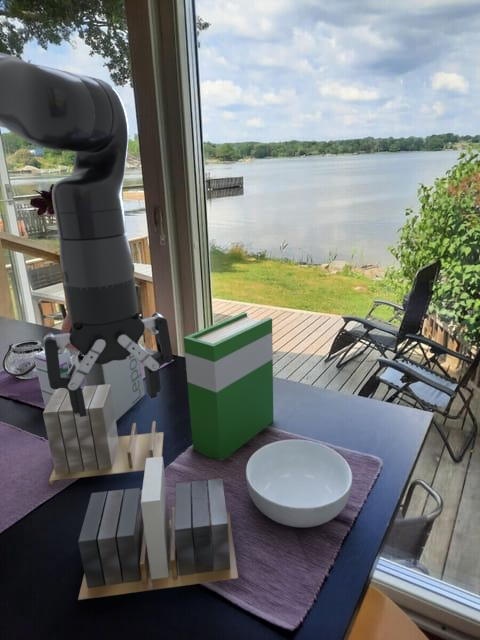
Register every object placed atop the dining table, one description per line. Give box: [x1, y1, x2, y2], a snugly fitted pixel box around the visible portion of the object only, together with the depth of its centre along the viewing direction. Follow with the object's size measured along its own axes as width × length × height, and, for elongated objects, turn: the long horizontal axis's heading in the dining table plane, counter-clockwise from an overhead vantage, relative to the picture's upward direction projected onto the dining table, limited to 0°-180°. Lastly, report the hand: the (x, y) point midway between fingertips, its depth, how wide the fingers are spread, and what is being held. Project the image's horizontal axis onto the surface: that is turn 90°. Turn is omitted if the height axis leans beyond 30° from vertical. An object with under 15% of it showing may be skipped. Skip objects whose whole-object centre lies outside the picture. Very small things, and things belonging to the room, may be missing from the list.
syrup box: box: [33, 348, 73, 409], centre depth 104 cm, size 6×6×14 cm
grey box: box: [83, 340, 146, 422], centre depth 100 cm, size 14×6×30 cm, turn 161°
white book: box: [141, 456, 171, 579], centre depth 62 cm, size 2×9×13 cm, turn 7°
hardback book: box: [183, 311, 274, 460], centre depth 89 cm, size 18×7×24 cm, turn 141°
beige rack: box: [42, 384, 165, 486], centre depth 84 cm, size 20×12×14 cm, turn 97°
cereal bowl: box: [245, 439, 353, 528], centre depth 72 cm, size 17×17×7 cm
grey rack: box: [77, 478, 239, 601], centre depth 63 cm, size 21×12×9 cm, turn 97°
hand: (118, 404), depth 54 cm, fingers open, 8 cm apart
